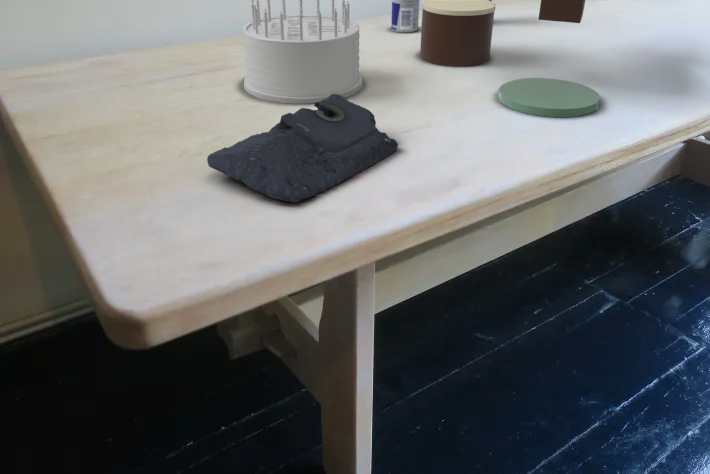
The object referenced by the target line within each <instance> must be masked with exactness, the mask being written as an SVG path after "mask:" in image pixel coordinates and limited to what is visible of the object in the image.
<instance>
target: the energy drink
mask: <svg viewBox="0 0 710 474" xmlns="http://www.w3.org/2000/svg"><path fill="white" fill-rule="evenodd" d="M419 18H420V0H391V22H390V23H391V25H390V26H391V27H390V28H391V30H392V31H393V32H397V33H403V34H404V33H407V34H408V33H414V32H417V30H419V20H420V19H419Z"/></svg>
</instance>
